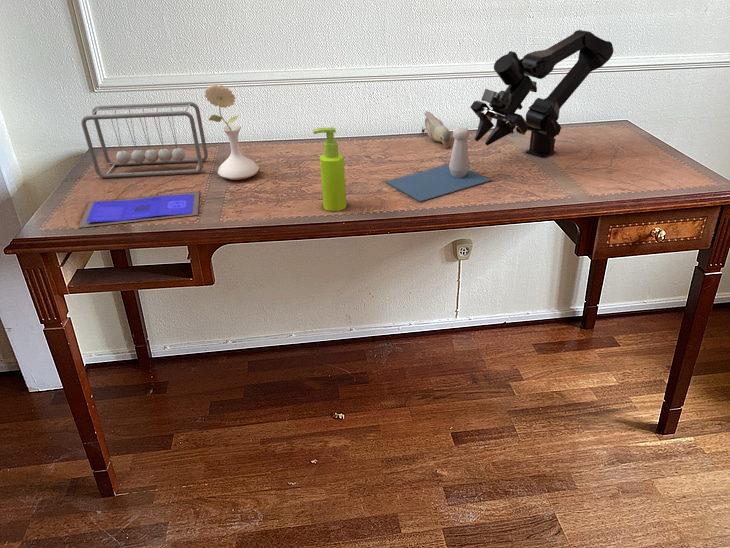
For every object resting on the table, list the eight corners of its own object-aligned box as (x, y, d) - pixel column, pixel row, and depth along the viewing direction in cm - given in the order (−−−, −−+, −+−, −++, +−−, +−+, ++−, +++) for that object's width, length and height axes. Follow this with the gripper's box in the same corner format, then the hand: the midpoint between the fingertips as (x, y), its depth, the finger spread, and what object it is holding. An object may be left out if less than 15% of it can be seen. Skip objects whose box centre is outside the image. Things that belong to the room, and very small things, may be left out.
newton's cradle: (97, 179, 172) (78, 116, 162) (107, 165, 180) (90, 105, 171) (203, 173, 174) (191, 111, 164) (209, 160, 182) (198, 101, 173)
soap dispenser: (319, 202, 156) (312, 125, 145) (346, 200, 156) (341, 124, 145) (319, 212, 151) (312, 133, 140) (346, 210, 151) (342, 131, 140)
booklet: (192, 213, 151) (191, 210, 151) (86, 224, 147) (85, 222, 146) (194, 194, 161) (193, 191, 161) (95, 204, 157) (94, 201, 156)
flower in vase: (267, 171, 174) (255, 82, 160) (243, 186, 165) (229, 92, 152) (230, 165, 179) (215, 78, 165) (205, 179, 170) (188, 88, 156)
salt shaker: (473, 176, 168) (476, 129, 160) (456, 180, 165) (458, 133, 158) (461, 169, 172) (463, 124, 165) (444, 173, 170) (446, 127, 162)
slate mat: (454, 163, 177) (454, 162, 176) (490, 181, 165) (490, 180, 165) (385, 182, 166) (385, 181, 166) (420, 202, 155) (420, 201, 154)
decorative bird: (439, 149, 186) (440, 125, 182) (418, 134, 199) (418, 111, 195) (455, 147, 188) (456, 123, 184) (433, 132, 201) (433, 109, 196)
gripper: (477, 70, 167) (444, 117, 168) (525, 84, 154) (489, 135, 155) (496, 95, 175) (465, 139, 176) (543, 109, 162) (509, 158, 163)
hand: (480, 142), depth 168 cm, fingers open, 4 cm apart
